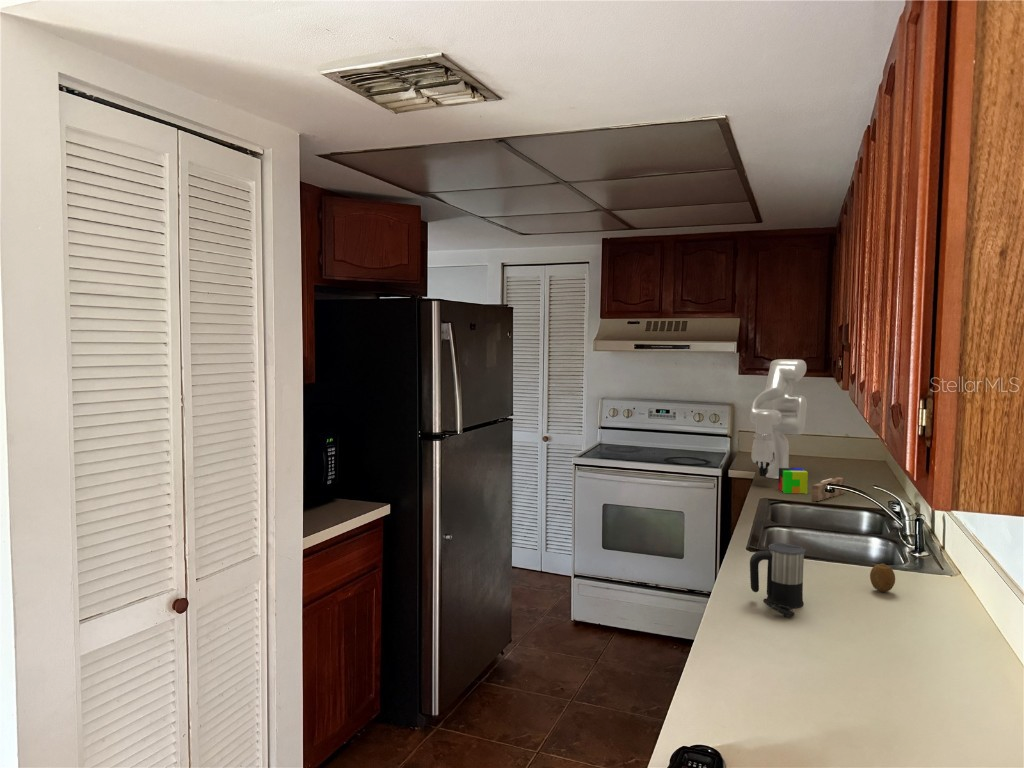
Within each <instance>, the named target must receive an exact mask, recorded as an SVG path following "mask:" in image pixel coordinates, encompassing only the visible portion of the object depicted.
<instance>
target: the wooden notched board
mask: <svg viewBox="0 0 1024 768" xmlns="http://www.w3.org/2000/svg"><path fill="white" fill-rule="evenodd" d="M828 483H831V484H840V485H845V477H840V476H837V477H834V478H828V479H824V480H821V481H820V482H819V483H815V484H812V487H811V502H813V501H819V500H823V499H826V498H829V497H831V498H834V497H837V496H840V495H843V494H844V492H845V491H844V490H845V489H844V490H841V489H835V492H834V493H827V492H825V490H824V488H825V486H826V484H828ZM833 496H834V497H833ZM829 499H830V498H829ZM826 500H827V499H826ZM823 501H824V500H823Z"/></svg>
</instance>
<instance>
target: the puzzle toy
mask: <svg viewBox="0 0 1024 768" xmlns="http://www.w3.org/2000/svg"><path fill="white" fill-rule="evenodd" d="M808 478H809V472H808V471H806V470H805V469H803V468H799V467H788V468H779V479H778V488H779V489H780V490H781V491H780V490H779V489H778V490H779V491H780V492H782V491H783V492H784V493H805V494H804V495H808V489H809V487H808V485H809V484H808V482H809V481H808V480H809V479H808ZM783 492H782V493H783ZM784 493H783V494H784Z"/></svg>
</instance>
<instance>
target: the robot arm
mask: <svg viewBox="0 0 1024 768" xmlns="http://www.w3.org/2000/svg"><path fill="white" fill-rule="evenodd" d="M807 368H808V367H807V363H806V361H804V359H788V358H786V359H783V358H782V359H774V360H772V361H771V362H770V363H769V370H768V375H767V379H766V385H765V389H764V390H763V391H761V392H760V393H759V394H758V395H757V396H755V398H754V400H753V401H752V404H751V408H750V412H749V420H750V422H751V424H754V425H755V433H754V434H753V435H752V436H753V438H754V439H753V441H752V446H751V454H750V455H751V460H752V461H751V462H752V463H754V464H757V466H758V468H759V471H758V472H759V476H760V477H765V478H769V479H774V480H776V479H777V480H779V468H789V457H790V456H789V455H790V451H789V450H790V449H789V448H790V443H789V440H788V438H787V437H786V436H785V435H794V436H799V435H802V434H803V433H804V431H805V427H806V418H807V408H808V406H807V405H808V404H807V403H808V402H807V398H806V397H805V396H804V395H800V394H799V395H798V394H793V389H794V386H793V384H792V383H793V382H796V383H797V382H799V381H800V380H801V379H802V378H803V377H804V376H805V374H806V373H807ZM771 401H772V409H768V408H765V409H764V408H761V406H762V405H764V404H765V403H768V402H771ZM787 414H788V415H787ZM789 414H791V415H789Z"/></svg>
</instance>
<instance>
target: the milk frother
mask: <svg viewBox="0 0 1024 768" xmlns="http://www.w3.org/2000/svg"><path fill="white" fill-rule="evenodd" d="M768 549H769V550H759V551H756V552H755V553H754V554H752V555H751V557H750V559H749V575H750V576H749V578H750V579H749V580H750V581H749V582H750V588H751V591H752V592H754V593H758V592H759V590H760V579H759V578H760V577H759V571H760V570H759V564H760V562H761V561H767V569H766V571H767V574H766V575H767V578H766V598H763V600H762V602H763V603H764V604H765V605H766V606H768V607H770V608H771V609H773V610H775V611H776V612H778V613H779V614H780V615H783V616H784V617H787V616H790V617H792V616H795V610H793V609H796V608H801V607H803V606H804V600H803V599H804V598H803V597H804V595H803V594H804V593H803V589H804V588H803V587H804V585H803V584H804V583H803V582H804V558H805V553H806V548H804V547H802V546H801V545H800V546H799V545H797V544H792V543H783V542H780V543H778V542H776V543H770V544H769V545H768Z"/></svg>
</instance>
